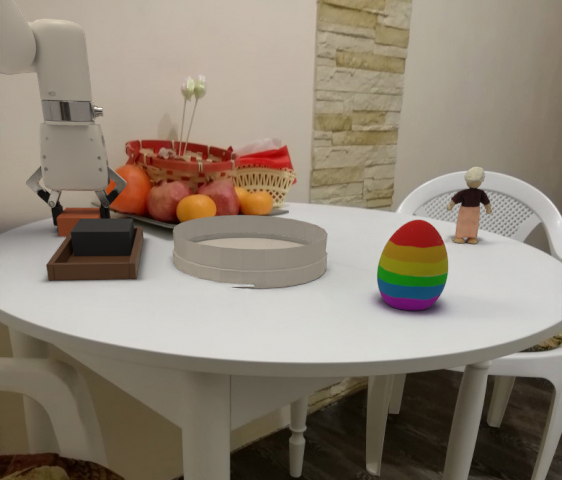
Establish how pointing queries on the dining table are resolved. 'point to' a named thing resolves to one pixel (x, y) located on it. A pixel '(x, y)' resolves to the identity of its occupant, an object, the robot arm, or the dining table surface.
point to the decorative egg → (413, 267)
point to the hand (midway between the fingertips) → (83, 229)
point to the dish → (251, 250)
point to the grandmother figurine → (470, 206)
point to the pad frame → (94, 263)
